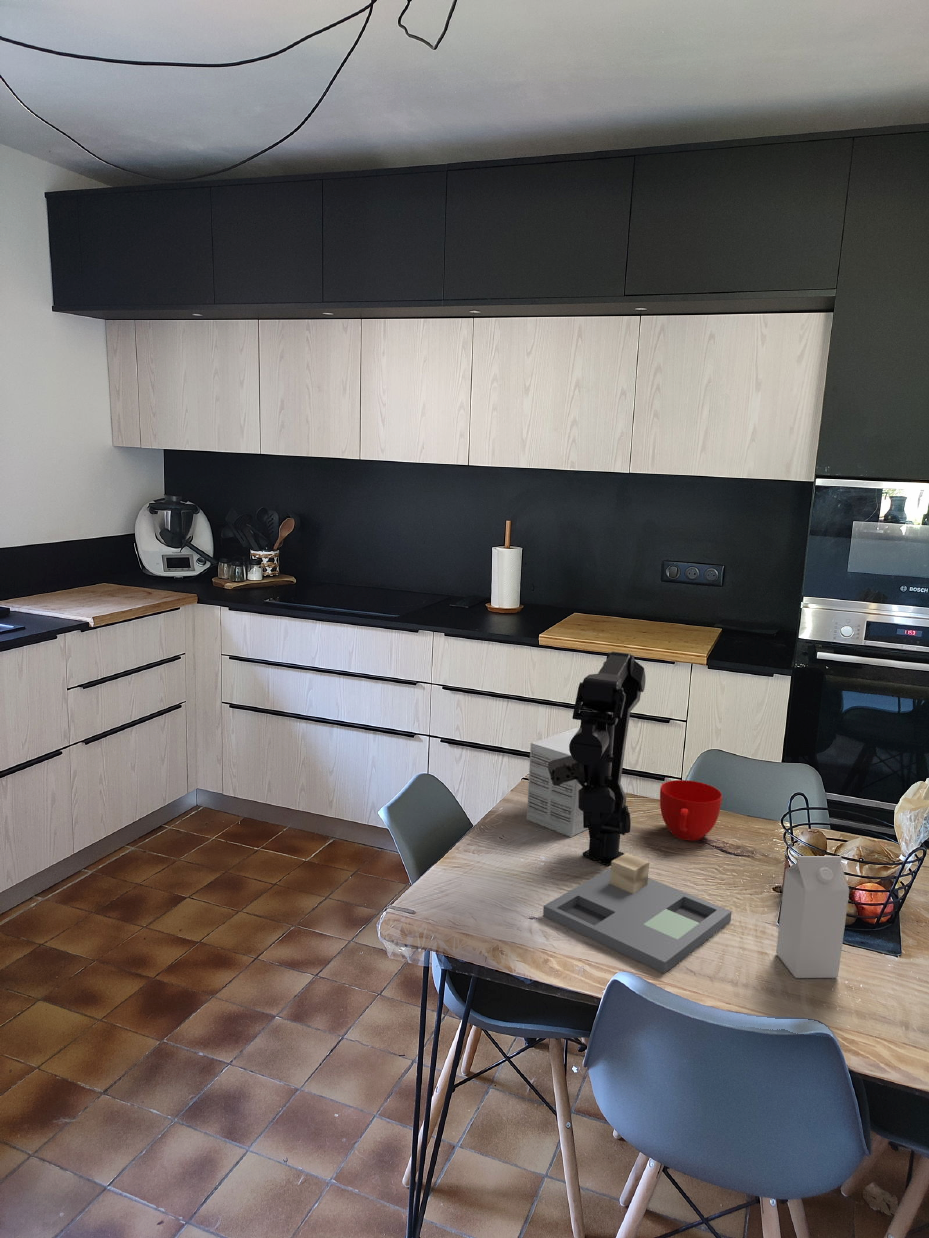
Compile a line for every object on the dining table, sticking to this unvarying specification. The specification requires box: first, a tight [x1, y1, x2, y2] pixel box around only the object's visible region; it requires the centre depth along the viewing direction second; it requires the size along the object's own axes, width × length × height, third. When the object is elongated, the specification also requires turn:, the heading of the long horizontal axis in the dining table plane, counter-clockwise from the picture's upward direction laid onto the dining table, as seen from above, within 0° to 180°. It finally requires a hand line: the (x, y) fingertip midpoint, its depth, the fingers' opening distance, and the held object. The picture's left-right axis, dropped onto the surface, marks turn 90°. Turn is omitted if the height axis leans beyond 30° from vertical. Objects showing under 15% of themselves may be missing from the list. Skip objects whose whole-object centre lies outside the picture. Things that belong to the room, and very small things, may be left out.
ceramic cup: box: [659, 779, 723, 842], centre depth 187 cm, size 13×17×10 cm
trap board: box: [542, 867, 733, 974], centre depth 153 cm, size 23×24×2 cm
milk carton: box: [775, 855, 850, 979], centre depth 139 cm, size 7×7×19 cm
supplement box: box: [526, 727, 588, 838], centre depth 194 cm, size 17×13×18 cm
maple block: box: [610, 852, 650, 893], centre depth 161 cm, size 5×5×4 cm
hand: (591, 826), depth 160 cm, fingers open, 9 cm apart
